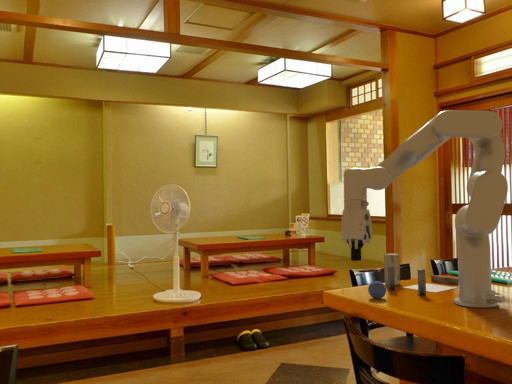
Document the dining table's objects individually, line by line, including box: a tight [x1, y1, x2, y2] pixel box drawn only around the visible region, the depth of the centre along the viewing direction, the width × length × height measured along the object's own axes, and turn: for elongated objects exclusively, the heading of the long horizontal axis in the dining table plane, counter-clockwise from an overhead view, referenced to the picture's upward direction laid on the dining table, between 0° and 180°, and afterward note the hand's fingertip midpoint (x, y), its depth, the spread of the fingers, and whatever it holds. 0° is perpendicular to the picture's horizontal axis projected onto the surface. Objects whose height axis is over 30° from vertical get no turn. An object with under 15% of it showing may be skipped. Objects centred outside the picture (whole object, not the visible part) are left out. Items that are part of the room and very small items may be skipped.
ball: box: [367, 280, 387, 300], centre depth 161 cm, size 6×6×6 cm
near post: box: [417, 268, 427, 297], centre depth 165 cm, size 3×3×9 cm
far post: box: [387, 266, 396, 292], centre depth 176 cm, size 3×3×9 cm
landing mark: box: [402, 283, 457, 294], centre depth 178 cm, size 14×14×1 cm
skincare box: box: [383, 253, 401, 287], centre depth 188 cm, size 6×4×12 cm
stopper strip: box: [430, 274, 459, 286], centre depth 187 cm, size 16×2×2 cm, turn 36°
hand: (356, 260), depth 156 cm, fingers closed
